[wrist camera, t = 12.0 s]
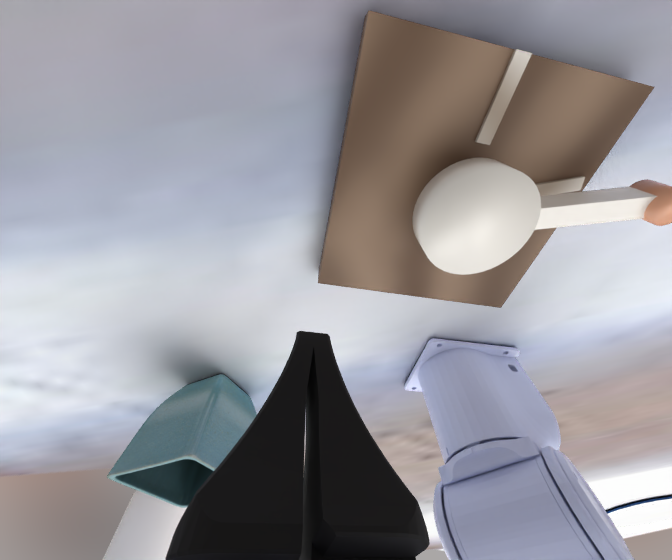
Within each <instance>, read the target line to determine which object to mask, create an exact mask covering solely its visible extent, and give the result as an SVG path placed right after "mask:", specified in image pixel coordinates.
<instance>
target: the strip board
mask: <svg viewBox="0 0 672 560" xmlns="http://www.w3.org/2000/svg"><path fill="white" fill-rule="evenodd" d="M653 88H654V87H652V86H648V85H645V84H641V83H637V82H633V81H630V80H626V79H622V78H619V77H615V76H611V75H607V74H604V73H600V72H596V71H593V70H589V69H585V68H581V67H578V66H574V65H570V64H567V63H563V62H559V61H555V60H552V59H548V58H544V57H540V56H537V55H533V54H532V53H529V52H526V51H522V50H518V49H515V50H514V49H511V48H507V47H503V46H500V45H496V44H492V43H488V42H485V41H481V40H477V39H474V38H470V37H466V36H462V35H459V34H455V33H451V32H448V31H444V30H440V29H436V28H433V27H429V26H425V25H421V24H418V23H414V22H410V21H407V20H403V19H399V18H395V17H392V16H388V15H384V14H381V13H377V12H373V11H368V13H367V14H366V16H365V20H364V25H363V31H362V36H361V42H360V47H359V53H358V58H357V64H356V69H355V75H354V80H353V86H352V91H351V97H350V102H349V108H348V113H347V119H346V124H345V130H344V135H343V141H342V146H341V152H340V157H339V163H338V168H337V174H336V179H335V185H334V190H333V196H332V201H331V207H330V212H329V218H328V223H327V229H326V234H325V240H324V245H323V251H322V256H321V262H320V267H319V275H318V283H321V284H329V285H336V286H344V287H351V288H358V289H366V290H373V291H381V292H388V293H395V294H403V295H410V296H418V297H425V298H432V299H440V300H447V301H455V302H462V303H469V304H477V305H484V306H492V307H499V308H501V307H502V305H503V304H504V303H505V301H506V300H507V298H508V297H509V295H510V294H511V292H512V291H513V290H514V288H515V287H516V285H517V284H518V282H519V281H520V280H521V278H522V277H523V275H524V274H525V272H526V271H527V269H528V268H529V267H530V265H531V264H532V262H533V261H534V259H535V258H536V257H537V255H538V254H539V252H540V251H541V249H542V248H543V246H544V245H545V244H546V242H547V241H548V239H549V238H550V236H551V235H552V234H553V232H554V231H555V229H556V228H548V229H538V230H534V232H533V233H532V235H531V237H530V238H529V239H528V241H527V242H526V243H525V244H524V246H523V247H522V248H521V249H520V250H519V251H518V252H517V253H516V254H514V255H513V256H512V257H511V258H509V259H508V260H506V261H505V262H503V263H502V264H500V265H498V266H496V267H494V268H492V269H489V270H486V271H484V272H480V273H475V274H466V275H461V274H453V273H449V272H445V271H443V270H441V269H439V268H438V267H436V266H435V265H434V264H433V263H432V262H431V261H430V260H429V259H428V257H427V256H426V254H425V252H424V250H423V249H422V247H421V245H420V244H419V242H418V240H417V238H416V236H415V233H414V230H413V211H414V207H415V204H416V202H417V199H418V197H419V195H420V194H421V192H422V190H423V189H424V188H425V186H426V185H427V184H428V183H429V181H430V180H431V179H432V178H433V177H435V176H436V175H437V174H438V173H439V172H441V171H442V170H443V169H445V168H447V167H448V166H450V165H452V164H454V163H457V162H459V161H462V160H465V159H470V158H489V159H493V160H496V161H499V162H501V163H503V164H505V165H507V166H509V167H512V168H514V169H516V170H518V171H520V172H522V173H524V174H526V175H527V176H528V177H530V178H531V179H532V181H533V182H534V183H535V185H536V186H537V188H538V191H539V193H540V196H546V195H555V194H565V193H574V192H582V190H583V189H584V188H585V186H586V185H587V183H588V182H589V180H590V179H591V178H592V176H593V175H594V173H595V172H596V170H597V169H598V167H599V166H600V165H601V163H602V162H603V160H604V159H605V157H606V156H607V155H608V153H609V152H610V150H611V149H612V147H613V146H614V144H615V143H616V142H617V140H618V139H619V137H620V136H621V134H622V133H623V132H624V130H625V129H626V127H627V126H628V124H629V123H630V121H631V120H632V119H633V117H634V116H635V114H636V113H637V111H638V110H639V109H640V107H641V106H642V104H643V103H644V101H645V100H646V98H647V97H648V96H649V94H650V93H651V91H652V90H653Z"/></svg>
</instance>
